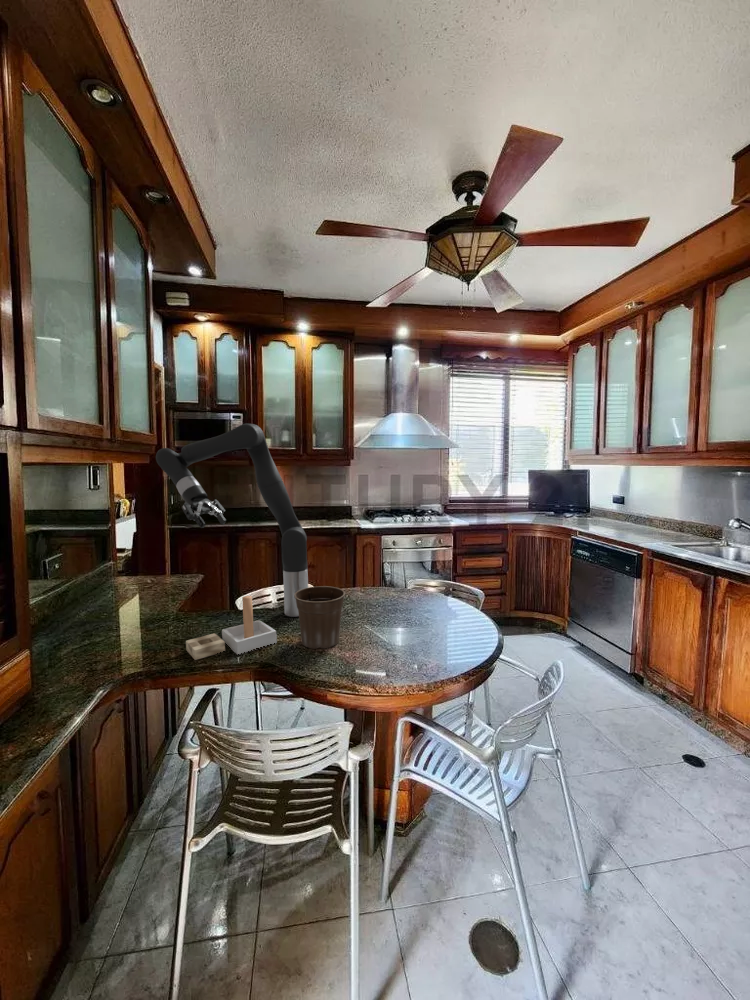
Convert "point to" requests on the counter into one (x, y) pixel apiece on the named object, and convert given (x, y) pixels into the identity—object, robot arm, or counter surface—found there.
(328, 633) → the plant pot
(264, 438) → the robot arm
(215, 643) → the dowel holder
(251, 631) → the dowel
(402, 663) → the counter surface
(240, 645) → the tray
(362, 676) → the counter surface
